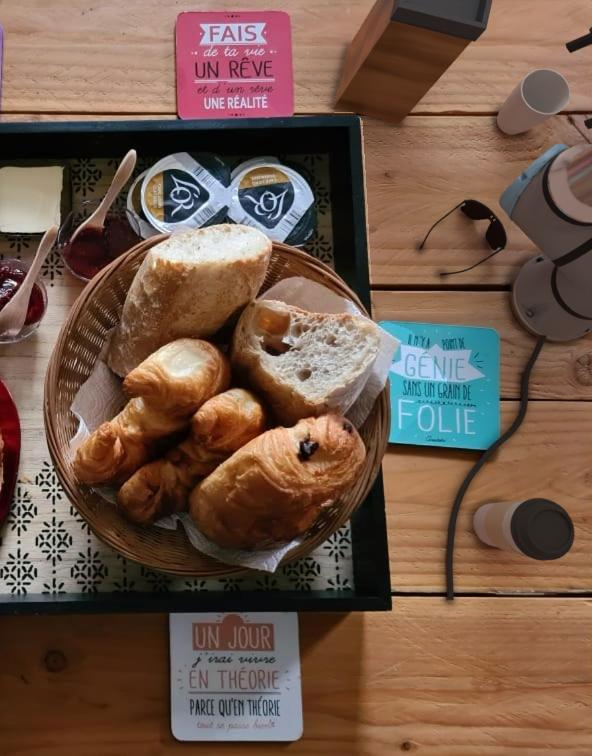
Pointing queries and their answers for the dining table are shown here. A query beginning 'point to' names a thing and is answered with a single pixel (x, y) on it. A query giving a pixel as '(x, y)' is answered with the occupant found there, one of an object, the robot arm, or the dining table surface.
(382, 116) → the stand
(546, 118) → the cup
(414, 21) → the tray
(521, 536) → the coffee cup
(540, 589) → the dining table surface
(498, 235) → the sunglasses
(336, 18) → the dining table surface
